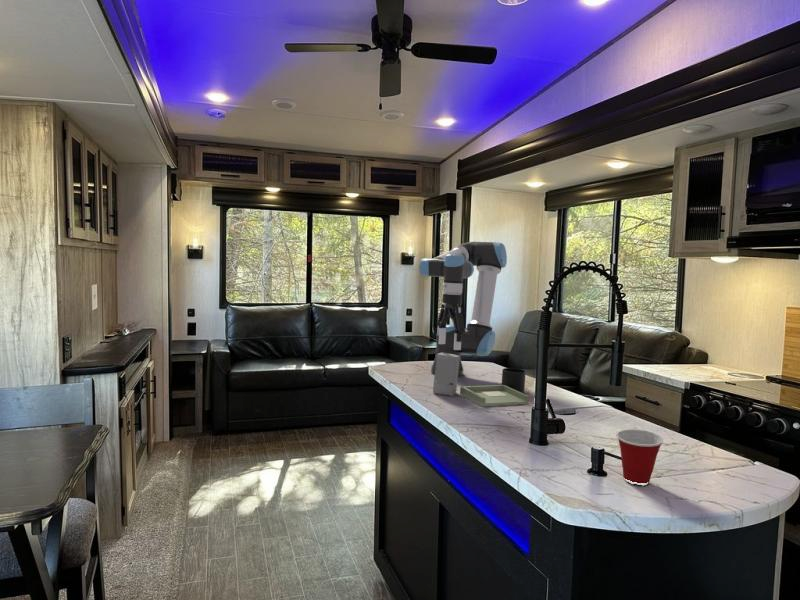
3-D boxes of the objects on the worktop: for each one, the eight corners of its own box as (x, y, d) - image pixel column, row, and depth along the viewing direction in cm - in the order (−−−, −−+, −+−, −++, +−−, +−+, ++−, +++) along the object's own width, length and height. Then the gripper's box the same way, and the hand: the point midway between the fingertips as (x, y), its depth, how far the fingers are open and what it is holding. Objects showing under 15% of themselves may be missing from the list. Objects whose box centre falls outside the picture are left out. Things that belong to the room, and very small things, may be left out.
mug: (514, 387, 232) (516, 366, 231) (528, 394, 220) (529, 372, 219) (494, 387, 229) (496, 366, 228) (507, 394, 218) (508, 372, 217)
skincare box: (432, 393, 213) (434, 354, 212) (438, 389, 220) (440, 351, 219) (453, 396, 210) (455, 356, 209) (458, 392, 217) (460, 354, 215)
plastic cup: (603, 476, 137) (606, 430, 136) (632, 470, 142) (636, 426, 141) (638, 494, 127) (642, 444, 126) (669, 487, 132) (673, 440, 131)
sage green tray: (460, 394, 214) (460, 386, 214) (503, 392, 221) (503, 384, 221) (482, 406, 197) (482, 398, 197) (528, 404, 204) (529, 396, 204)
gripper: (430, 291, 222) (427, 341, 224) (458, 296, 199) (455, 352, 200) (446, 291, 225) (444, 341, 226) (476, 296, 202) (472, 352, 203)
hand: (449, 346), depth 213 cm, fingers open, 13 cm apart
